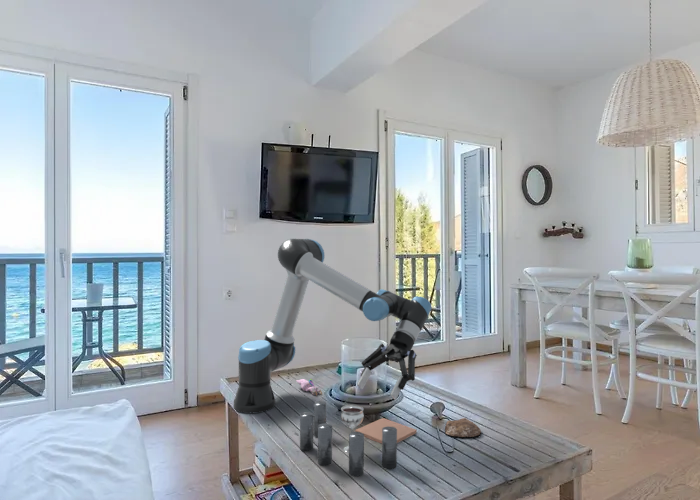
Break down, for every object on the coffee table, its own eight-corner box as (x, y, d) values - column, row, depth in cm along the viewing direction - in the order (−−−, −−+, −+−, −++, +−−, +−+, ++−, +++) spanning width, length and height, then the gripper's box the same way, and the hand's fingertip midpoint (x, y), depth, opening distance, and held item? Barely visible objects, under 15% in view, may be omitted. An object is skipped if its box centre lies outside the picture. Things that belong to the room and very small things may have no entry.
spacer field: (283, 446, 132) (283, 412, 132) (320, 431, 143) (320, 400, 143) (363, 487, 110) (363, 447, 110) (399, 465, 121) (399, 429, 121)
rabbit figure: (324, 397, 179) (303, 382, 190) (326, 383, 178) (304, 369, 189) (312, 400, 175) (291, 385, 186) (314, 386, 174) (292, 372, 185)
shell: (482, 427, 149) (482, 416, 148) (480, 443, 137) (480, 431, 136) (447, 422, 152) (447, 412, 152) (442, 437, 140) (442, 426, 140)
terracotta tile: (355, 433, 142) (355, 429, 142) (382, 420, 152) (382, 417, 152) (389, 447, 132) (389, 443, 132) (416, 432, 142) (416, 429, 142)
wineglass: (348, 456, 126) (348, 414, 126) (336, 447, 132) (336, 407, 131) (367, 451, 129) (368, 410, 129) (355, 442, 135) (355, 403, 135)
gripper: (441, 349, 142) (413, 408, 131) (381, 338, 159) (352, 389, 148) (432, 335, 138) (403, 394, 127) (371, 325, 155) (341, 376, 144)
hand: (375, 392), depth 138 cm, fingers open, 13 cm apart
